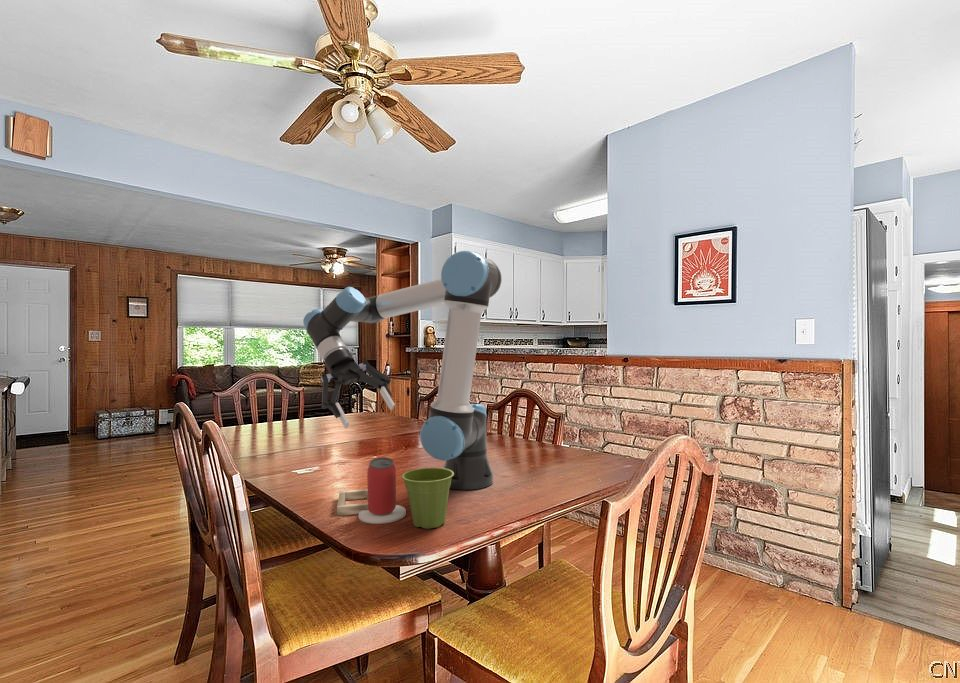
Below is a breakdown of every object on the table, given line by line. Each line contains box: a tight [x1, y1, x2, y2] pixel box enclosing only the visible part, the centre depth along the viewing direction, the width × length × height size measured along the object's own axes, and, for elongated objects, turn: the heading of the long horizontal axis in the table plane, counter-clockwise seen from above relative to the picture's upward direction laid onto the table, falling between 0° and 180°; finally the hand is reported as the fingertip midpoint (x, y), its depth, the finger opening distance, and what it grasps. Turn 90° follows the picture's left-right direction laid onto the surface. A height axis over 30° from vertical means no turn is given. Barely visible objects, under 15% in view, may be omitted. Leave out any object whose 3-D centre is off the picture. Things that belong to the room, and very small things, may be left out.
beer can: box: [366, 456, 397, 515], centre depth 116 cm, size 7×7×12 cm
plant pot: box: [401, 467, 454, 530], centre depth 111 cm, size 12×12×11 cm
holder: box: [336, 488, 368, 517], centre depth 125 cm, size 13×13×2 cm
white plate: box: [358, 504, 407, 525], centre depth 117 cm, size 11×11×1 cm
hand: (370, 416), depth 131 cm, fingers open, 13 cm apart
